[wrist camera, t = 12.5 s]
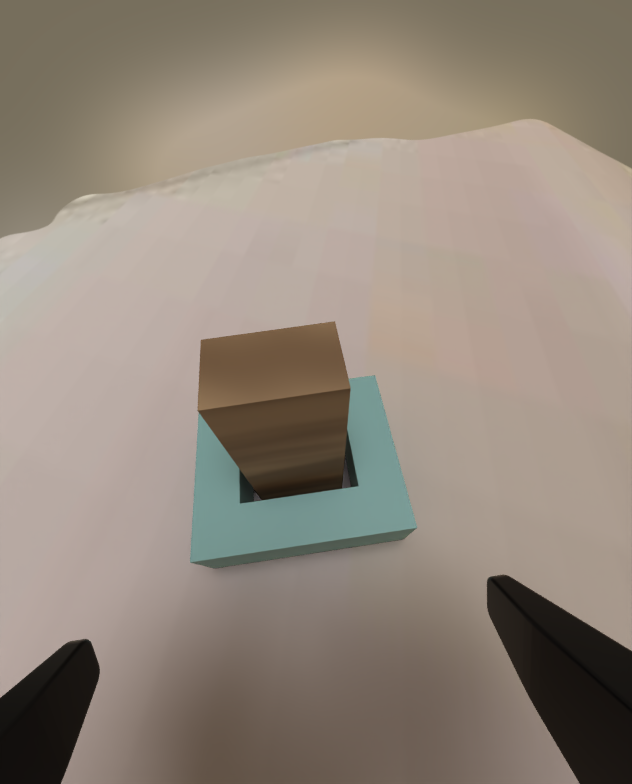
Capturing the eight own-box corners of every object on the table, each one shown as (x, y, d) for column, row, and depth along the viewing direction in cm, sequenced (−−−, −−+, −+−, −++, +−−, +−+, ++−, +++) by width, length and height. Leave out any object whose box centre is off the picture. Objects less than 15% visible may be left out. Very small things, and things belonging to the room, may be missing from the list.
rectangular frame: (403, 539, 20) (417, 527, 17) (214, 568, 20) (189, 562, 17) (369, 405, 25) (374, 375, 22) (217, 426, 25) (199, 399, 22)
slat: (341, 493, 22) (350, 388, 11) (266, 505, 22) (197, 410, 11) (333, 451, 24) (334, 321, 13) (263, 462, 23) (200, 339, 12)
